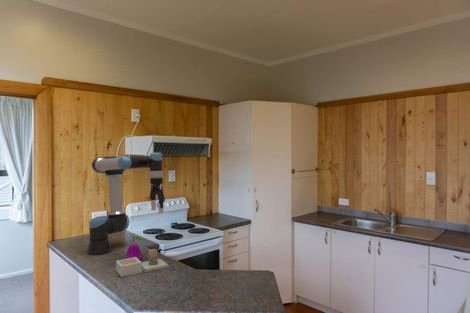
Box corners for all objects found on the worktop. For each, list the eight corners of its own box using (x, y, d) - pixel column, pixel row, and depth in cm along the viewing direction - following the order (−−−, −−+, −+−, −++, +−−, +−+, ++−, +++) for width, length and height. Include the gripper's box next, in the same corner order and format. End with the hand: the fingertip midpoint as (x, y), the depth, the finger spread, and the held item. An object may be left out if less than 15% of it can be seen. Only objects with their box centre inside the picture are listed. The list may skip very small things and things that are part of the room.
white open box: (116, 271, 179) (115, 260, 179) (135, 267, 185) (135, 256, 185) (121, 277, 170) (120, 266, 170) (141, 272, 176) (141, 262, 176)
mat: (137, 266, 187) (137, 264, 187) (160, 261, 195) (160, 260, 195) (145, 273, 175) (145, 272, 175) (169, 267, 183) (169, 266, 183)
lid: (138, 265, 187) (138, 249, 187) (160, 260, 194) (159, 245, 194) (145, 271, 176) (145, 255, 176) (168, 266, 183) (167, 250, 183)
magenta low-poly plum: (137, 263, 191) (136, 238, 191) (120, 263, 193) (120, 238, 193) (146, 257, 202) (145, 234, 202) (130, 257, 204) (129, 233, 204)
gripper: (144, 176, 206) (144, 209, 206) (157, 179, 185) (158, 215, 185) (155, 176, 210) (156, 208, 210) (169, 178, 189) (170, 213, 189)
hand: (157, 211), depth 198 cm, fingers open, 13 cm apart
